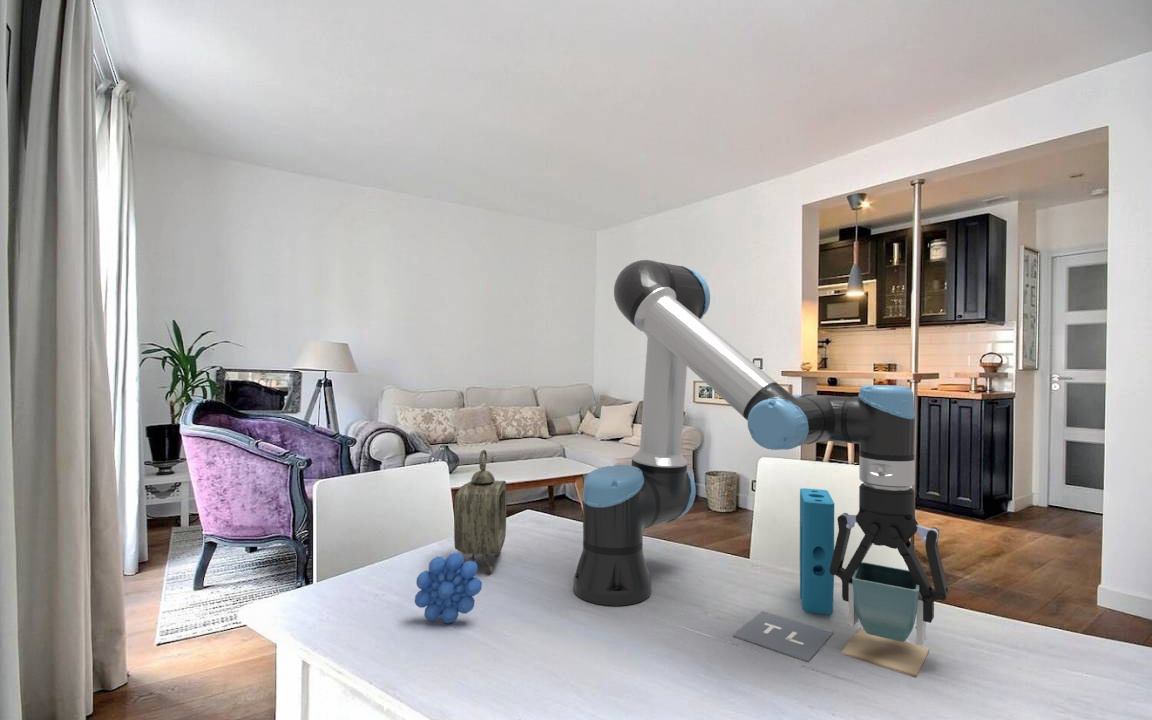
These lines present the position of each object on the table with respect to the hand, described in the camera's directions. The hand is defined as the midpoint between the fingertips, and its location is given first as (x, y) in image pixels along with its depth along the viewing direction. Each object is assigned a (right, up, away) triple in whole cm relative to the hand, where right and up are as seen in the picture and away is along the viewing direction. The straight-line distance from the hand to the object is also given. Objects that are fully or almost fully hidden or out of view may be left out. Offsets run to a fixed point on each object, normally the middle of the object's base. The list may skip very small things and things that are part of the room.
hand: (886, 631), depth 88 cm
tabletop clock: (-69, -3, +37) cm, 78 cm away
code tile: (-14, -3, +5) cm, 15 cm away
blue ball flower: (-70, -3, +10) cm, 70 cm away
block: (-3, -3, +18) cm, 18 cm away
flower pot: (0, 0, 0) cm, 0 cm away
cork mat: (0, -3, 0) cm, 3 cm away
